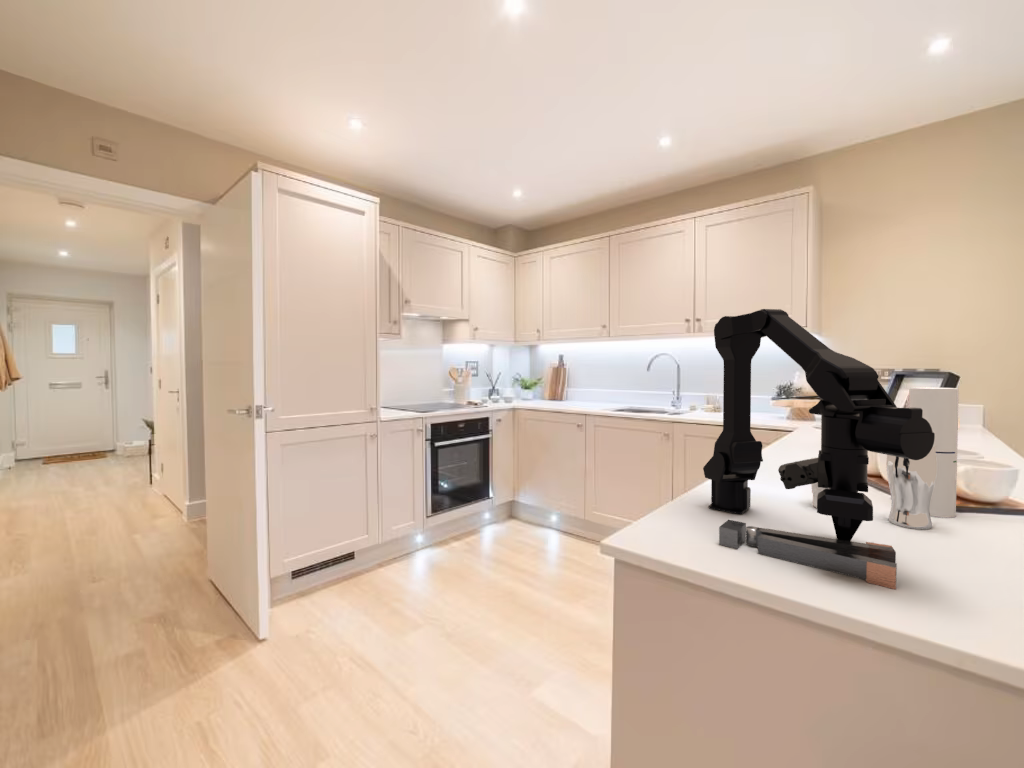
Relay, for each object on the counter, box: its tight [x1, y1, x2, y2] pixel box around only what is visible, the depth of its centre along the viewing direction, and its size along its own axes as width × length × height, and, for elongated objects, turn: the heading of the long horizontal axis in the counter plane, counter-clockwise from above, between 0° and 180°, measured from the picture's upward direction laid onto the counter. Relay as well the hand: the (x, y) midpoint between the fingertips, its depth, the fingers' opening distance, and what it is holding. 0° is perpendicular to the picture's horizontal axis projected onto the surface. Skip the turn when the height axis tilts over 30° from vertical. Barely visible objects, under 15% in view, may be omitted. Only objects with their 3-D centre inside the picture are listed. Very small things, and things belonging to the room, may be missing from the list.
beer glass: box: [886, 445, 937, 531], centre depth 82 cm, size 7×7×15 cm
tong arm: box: [745, 525, 897, 563], centre depth 69 cm, size 19×3×3 cm, turn 60°
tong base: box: [718, 519, 898, 590], centre depth 68 cm, size 22×5×3 cm, turn 47°
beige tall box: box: [908, 386, 960, 519], centre depth 89 cm, size 7×7×25 cm
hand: (842, 545), depth 69 cm, fingers closed
